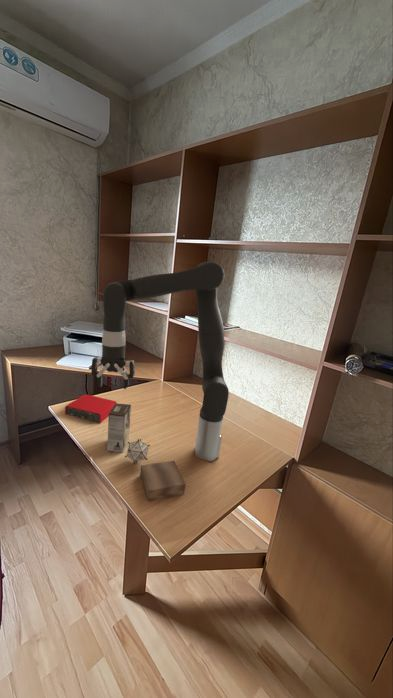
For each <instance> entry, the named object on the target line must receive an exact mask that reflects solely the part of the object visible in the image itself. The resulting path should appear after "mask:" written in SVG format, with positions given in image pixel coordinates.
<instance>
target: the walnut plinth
mask: <svg viewBox="0 0 393 698" xmlns="http://www.w3.org/2000/svg"><path fill="white" fill-rule="evenodd" d="M139 476H140V479H141V483H142V486H143V489H144V492H145V496H146V499H147V502H150V501H156V500H161V499H167V498H172V497H173V498H174V497H176V496H183V495H185V492H186V482H185V480H184V478H183V476H182V474H181V472H180V469H179V468H178V466H177V463H176V461H175V460H169V461H162V462H156V463H154V462H153V463H149V464H142V465H141V464H140V475H139Z"/></svg>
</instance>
